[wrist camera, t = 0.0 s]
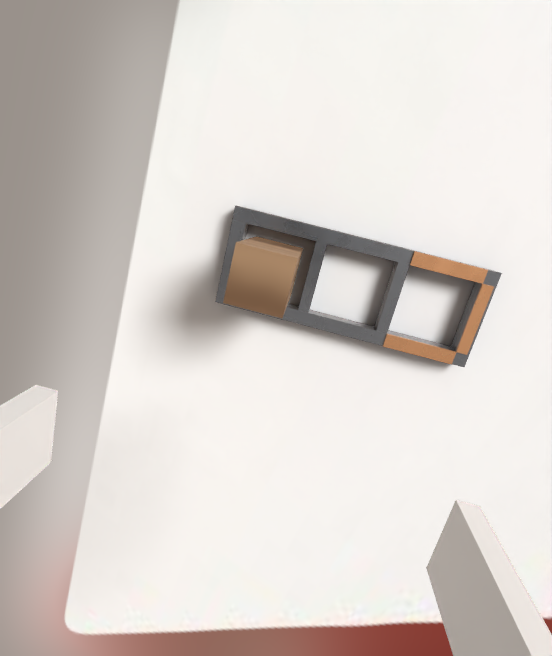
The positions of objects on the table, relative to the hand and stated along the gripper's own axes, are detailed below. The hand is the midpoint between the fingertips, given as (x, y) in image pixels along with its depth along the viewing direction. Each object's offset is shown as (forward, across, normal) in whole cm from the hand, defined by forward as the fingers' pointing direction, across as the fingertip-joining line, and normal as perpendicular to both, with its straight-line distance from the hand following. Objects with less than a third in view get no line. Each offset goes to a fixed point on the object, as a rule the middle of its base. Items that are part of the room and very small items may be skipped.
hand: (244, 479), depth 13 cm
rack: (+28, +5, +3) cm, 28 cm away
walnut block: (+28, -3, +3) cm, 28 cm away
